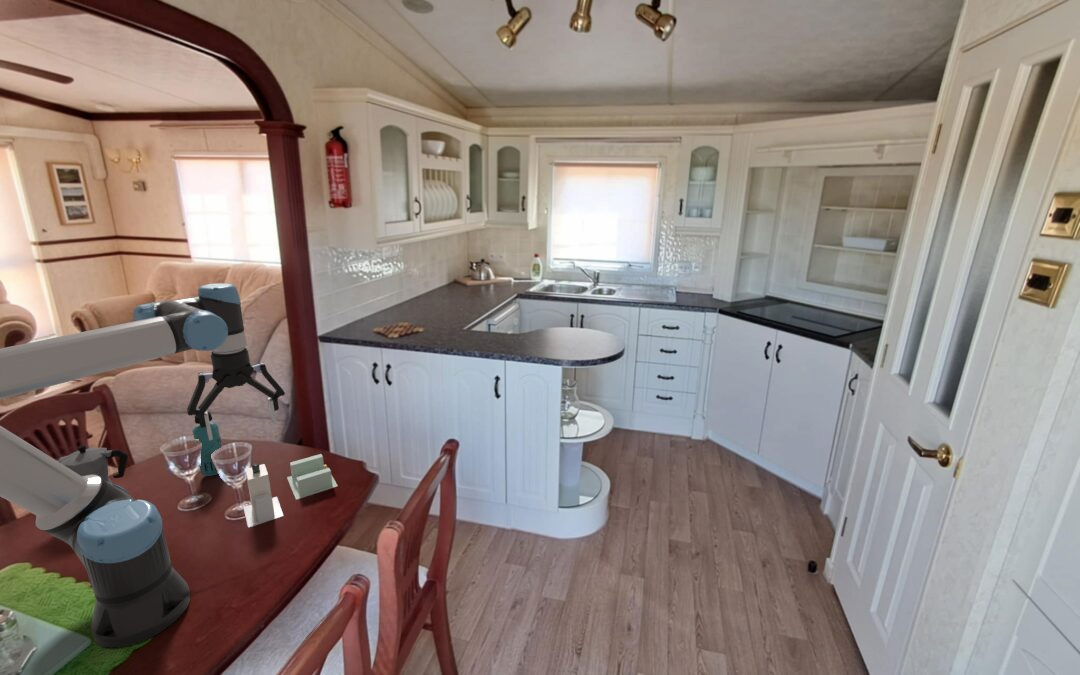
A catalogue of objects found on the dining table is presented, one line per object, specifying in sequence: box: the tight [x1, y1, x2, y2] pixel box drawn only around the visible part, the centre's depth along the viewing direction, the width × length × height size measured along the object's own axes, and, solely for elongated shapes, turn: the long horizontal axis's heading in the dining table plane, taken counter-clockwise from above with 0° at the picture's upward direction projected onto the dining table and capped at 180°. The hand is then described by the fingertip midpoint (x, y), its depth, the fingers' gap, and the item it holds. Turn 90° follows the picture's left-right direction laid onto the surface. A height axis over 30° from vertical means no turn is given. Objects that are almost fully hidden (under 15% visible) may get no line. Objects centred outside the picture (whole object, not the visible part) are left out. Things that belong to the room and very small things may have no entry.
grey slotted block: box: [243, 493, 284, 529], centre depth 124 cm, size 10×8×8 cm
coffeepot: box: [55, 444, 129, 484], centre depth 124 cm, size 15×9×18 cm, turn 110°
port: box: [286, 453, 338, 501], centre depth 137 cm, size 13×11×6 cm
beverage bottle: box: [191, 411, 223, 477], centre depth 139 cm, size 6×7×20 cm
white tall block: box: [244, 462, 274, 521], centre depth 123 cm, size 6×4×14 cm
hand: (243, 430), depth 118 cm, fingers open, 13 cm apart
